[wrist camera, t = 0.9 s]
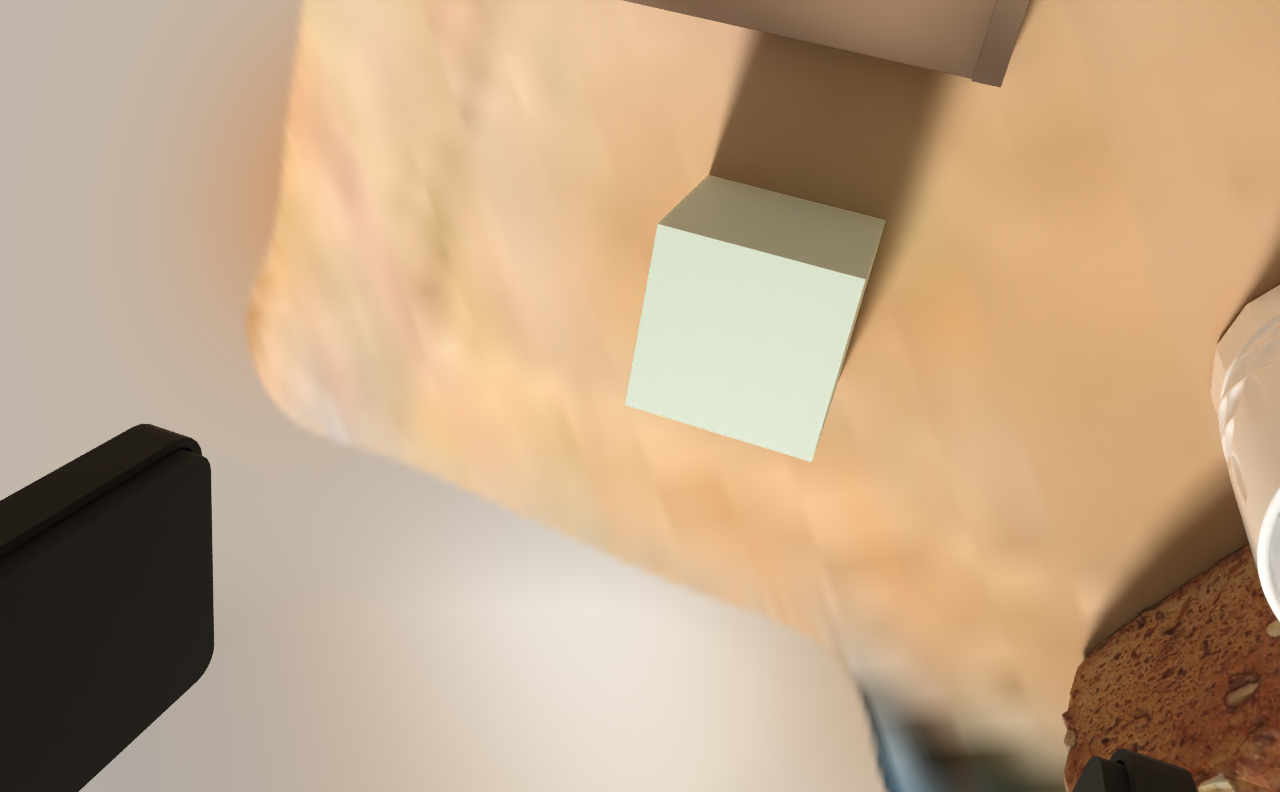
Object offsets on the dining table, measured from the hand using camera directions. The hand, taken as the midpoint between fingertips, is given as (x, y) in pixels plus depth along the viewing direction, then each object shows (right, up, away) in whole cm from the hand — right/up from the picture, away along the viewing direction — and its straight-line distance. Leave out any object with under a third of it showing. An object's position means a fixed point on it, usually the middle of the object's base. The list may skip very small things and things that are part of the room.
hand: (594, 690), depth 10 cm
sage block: (+5, +7, +24) cm, 26 cm away
